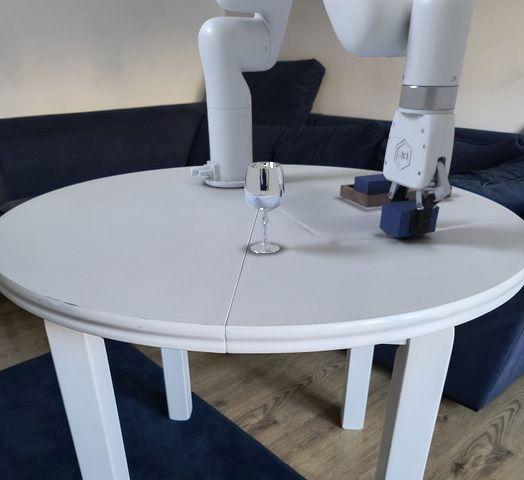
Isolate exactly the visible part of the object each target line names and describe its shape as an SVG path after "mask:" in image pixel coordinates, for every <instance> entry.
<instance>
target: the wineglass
mask: <svg viewBox="0 0 524 480" xmlns="http://www.w3.org/2000/svg"><path fill="white" fill-rule="evenodd" d="M283 171H284V170H283V167H282V164H281V163H280V162H274V161H273V162H272V161H257V162H253V163H251V164H248V167H247V171H246V177H245V185H244V187H243V189H244V190H243V191H244V198H245V201H246V203H247V205H248V207H250V208H252V209H254V210H256V211H257V212H261V213H262V214H261V218H260V219H261V224H262V227H263V228H262V229H263V231H262V232H263V233H262V235H263V237H262V241H261V242H259V243H255V244H252V245H251V246H250V248H249V249H250V251H251V252H253V253H256V254H262V255H263V254H264V255H265V254H266V255H267V254H273V253H276V252H279V251H280V249H281V248H280V246H279V245H278V244H276V243H272V242H269V241H268V239H267V229H268V228H267V226H268V222H269V215H268V212H272V211H274V210H276V209H278V208H279V207H280V206H281V205H282V204H283V201H284V199H285V194H286V184H285V176H284V172H283Z"/></svg>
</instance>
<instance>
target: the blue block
mask: <svg viewBox="0 0 524 480" xmlns="http://www.w3.org/2000/svg"><path fill="white" fill-rule="evenodd" d="M387 182H388V181H387V179H386V178H385V176H384V174H383V173H378V174H366V175H355V176H354V182H353V184H354V189H355V190H358V191H360V192H363V193H365V194H367V195H375V194H384V193H389V191H390V190H389V187H388V183H387Z"/></svg>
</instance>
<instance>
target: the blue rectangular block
mask: <svg viewBox="0 0 524 480" xmlns="http://www.w3.org/2000/svg"><path fill="white" fill-rule="evenodd" d="M413 209H416V199H415V200H406V201H398V202H390V203H383V204H382V206H381V213H380V222H379V229H380V230H382V231H383V232H386V233H388V234H390V235H391V236H394V237H395V238H403V237H410V236H412V235H410V234H409V230H410V224H411V218H412V212H413ZM439 212H440V206H439V205H436V208H434V209H432V214H431V220H430V225H429V231H428V233H427V234H431V233H435V232H436V228H437V223H438V219H439V217H438V216H439ZM412 237H413V236H412Z"/></svg>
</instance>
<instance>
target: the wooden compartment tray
mask: <svg viewBox="0 0 524 480" xmlns="http://www.w3.org/2000/svg"><path fill="white" fill-rule="evenodd" d="M427 187H429V185H428V186H427ZM450 188H451V192H450V194H449V195H447V196H446V197H444V198H443V199H446V198H451V195H452V190H453V186H452V185H450ZM427 196H428V191H424V199H425V198H426V197H427ZM339 197H343V198H345V199H347V200H349V201H351V202H353V203H356V204H358V205H360V206H362V207H364V208H374V207H382V204H383V203H390V198H389V193H384V194H375V195H367V194H365V193H363V192H360V191H358V190H355V189H354V183H349V184H340V189H339ZM406 197H408V198H409V200H415V199H416V190H414V189H411V188H409V191H408V194H407V196H406ZM406 197H405V198H406Z"/></svg>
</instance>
